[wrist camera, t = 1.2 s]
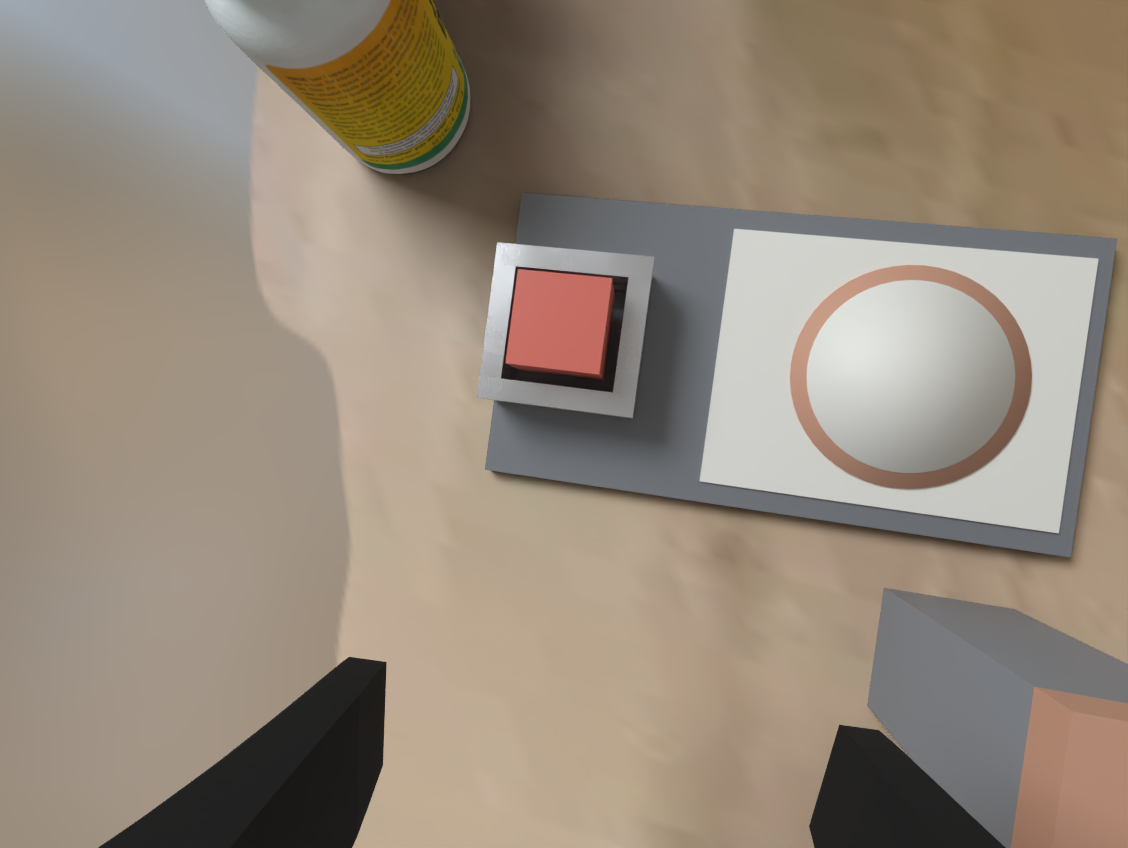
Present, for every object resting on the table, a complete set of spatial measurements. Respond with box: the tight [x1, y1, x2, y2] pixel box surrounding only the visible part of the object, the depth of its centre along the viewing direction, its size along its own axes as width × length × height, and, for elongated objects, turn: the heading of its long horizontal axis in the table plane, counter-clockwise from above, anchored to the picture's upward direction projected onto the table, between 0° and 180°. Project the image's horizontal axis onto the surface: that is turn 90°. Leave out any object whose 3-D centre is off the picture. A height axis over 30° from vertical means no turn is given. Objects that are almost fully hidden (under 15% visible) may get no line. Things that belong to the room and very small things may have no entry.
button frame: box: [477, 242, 654, 419], centre depth 18 cm, size 5×5×2 cm
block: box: [867, 588, 1128, 848], centre depth 14 cm, size 4×4×8 cm
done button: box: [506, 269, 615, 380], centre depth 17 cm, size 3×3×2 cm
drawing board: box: [485, 193, 1117, 558], centre depth 18 cm, size 10×19×1 cm, turn 82°
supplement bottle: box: [205, 0, 470, 174], centre depth 16 cm, size 5×5×10 cm
